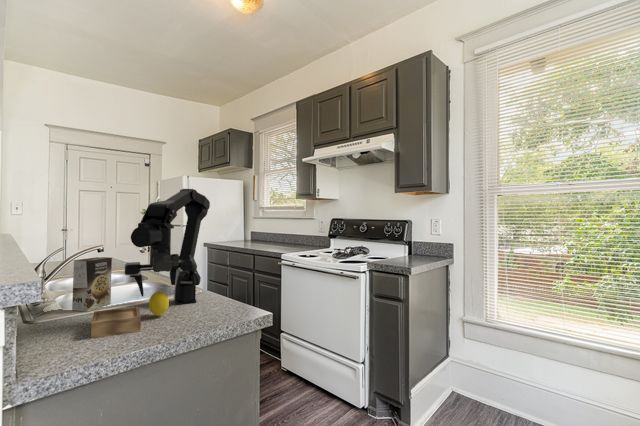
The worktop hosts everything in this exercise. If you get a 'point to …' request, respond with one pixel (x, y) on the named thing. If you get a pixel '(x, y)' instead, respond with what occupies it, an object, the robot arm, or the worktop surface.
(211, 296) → the worktop surface
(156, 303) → the lemon
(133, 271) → the robot arm
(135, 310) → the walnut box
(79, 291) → the cookie box
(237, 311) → the worktop surface
